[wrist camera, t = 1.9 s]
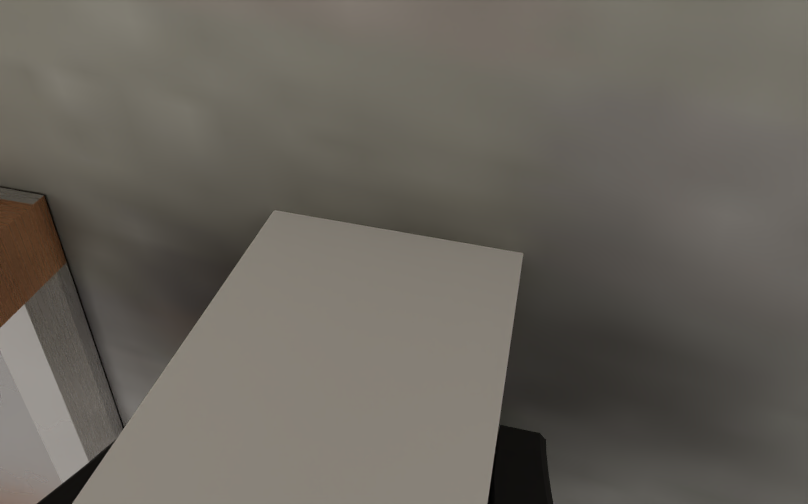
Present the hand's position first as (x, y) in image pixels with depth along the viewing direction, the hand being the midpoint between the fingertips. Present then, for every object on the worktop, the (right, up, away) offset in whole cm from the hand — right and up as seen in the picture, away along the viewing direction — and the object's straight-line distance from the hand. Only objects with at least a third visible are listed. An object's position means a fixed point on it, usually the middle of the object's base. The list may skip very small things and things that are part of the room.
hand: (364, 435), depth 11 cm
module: (0, +1, +1) cm, 2 cm away
